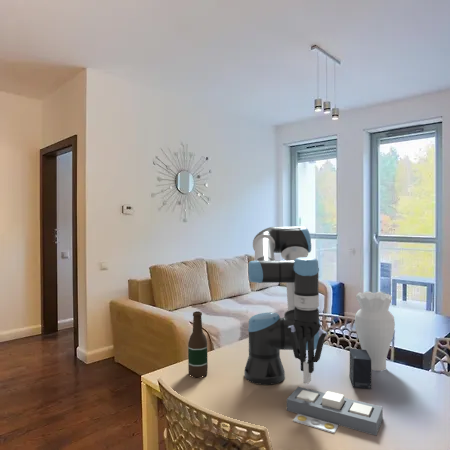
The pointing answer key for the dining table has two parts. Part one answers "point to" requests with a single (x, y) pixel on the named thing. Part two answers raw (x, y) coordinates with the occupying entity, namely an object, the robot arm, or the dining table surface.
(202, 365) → the beer bottle
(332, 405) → the button
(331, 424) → the card
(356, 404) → the button
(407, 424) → the dining table surface
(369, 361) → the small box
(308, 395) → the button
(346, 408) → the board
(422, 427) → the dining table surface
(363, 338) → the vase
